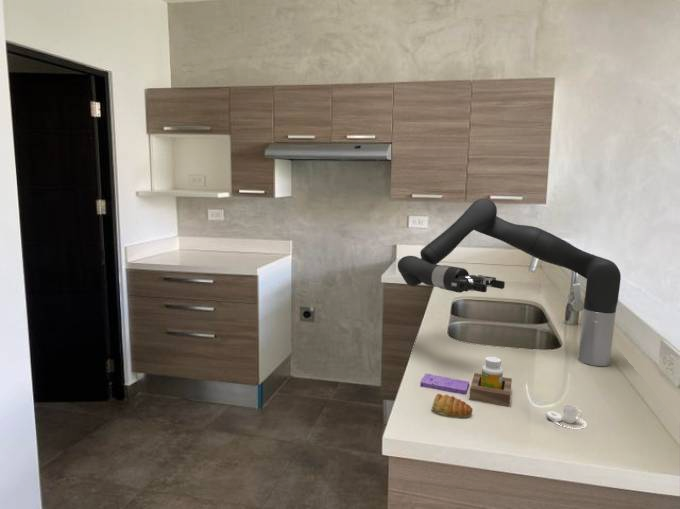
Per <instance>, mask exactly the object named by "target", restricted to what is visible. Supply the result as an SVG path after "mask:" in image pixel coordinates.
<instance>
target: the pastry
mask: <svg viewBox="0 0 680 509" xmlns="http://www.w3.org/2000/svg"><path fill="white" fill-rule="evenodd" d="M431 410H432V411H434V412H435V413H436V414H438V415H440V414H441V415H442V416H445V417H452V418H460V419H463V418H469V417H471V416H472V413H473V410H474V409H473V407H471V406H470V405H469V404H468V403H466V401H462V400H461V399H459V398H456V397H455V396H454V395H451V396H450V395H449V394H441V393H437V394H436V395H435V397H434V400H433V403H432V407H431Z"/></svg>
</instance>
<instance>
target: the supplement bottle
mask: <svg viewBox="0 0 680 509" xmlns="http://www.w3.org/2000/svg"><path fill="white" fill-rule="evenodd" d="M484 363H485V364H484V365H482V367H481V374H482V376H481V386H482V387H488V388H494V389H501V388H502V377H504V376H503V375H504V370H503V368H502V367H501V365H502V360H501V359H500V358H499V357H495V356H487V357H485V362H484Z"/></svg>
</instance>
